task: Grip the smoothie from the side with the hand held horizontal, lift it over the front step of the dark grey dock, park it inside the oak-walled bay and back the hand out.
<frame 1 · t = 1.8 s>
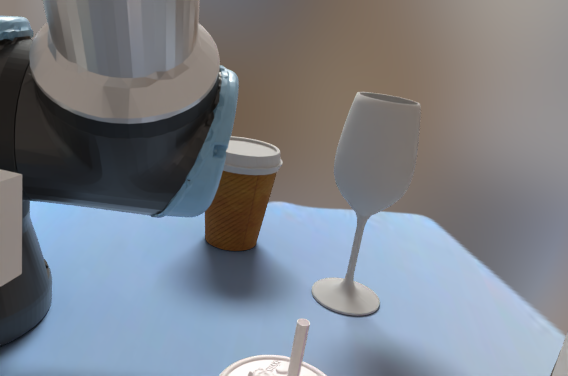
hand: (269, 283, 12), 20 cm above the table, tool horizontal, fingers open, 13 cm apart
wineglass: (344, 298, 54), on the table
disposable coffee cup: (230, 241, 63), on the table
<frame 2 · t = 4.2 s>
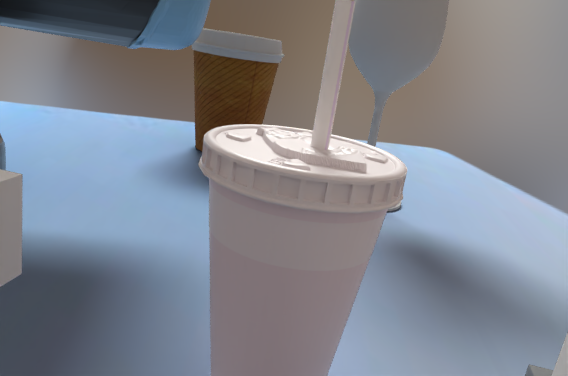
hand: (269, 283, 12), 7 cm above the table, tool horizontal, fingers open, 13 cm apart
wineglass: (359, 199, 46), on the table
disposable coffee cup: (224, 152, 55), on the table
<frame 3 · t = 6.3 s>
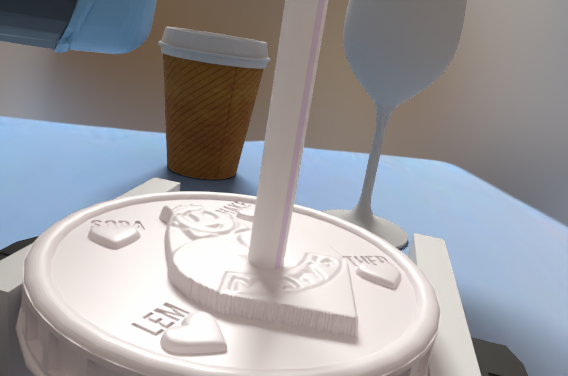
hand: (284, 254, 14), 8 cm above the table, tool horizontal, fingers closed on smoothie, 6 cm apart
wineglass: (358, 232, 38), on the table
disposable coffee cup: (201, 171, 47), on the table
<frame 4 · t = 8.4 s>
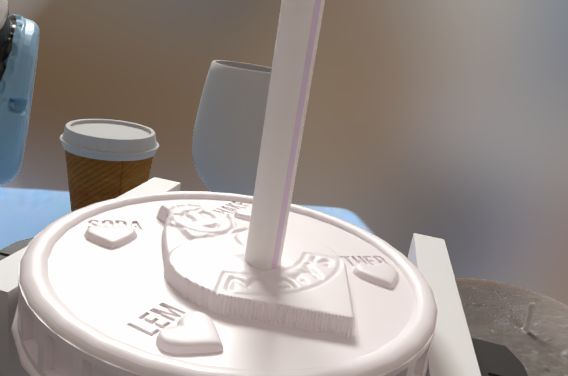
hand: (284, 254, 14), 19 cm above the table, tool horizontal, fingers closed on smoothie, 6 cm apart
wineglass: (218, 301, 47), on the table
disposable coffee cup: (105, 238, 55), on the table
when the fingers open (12 cm above the table, at t = 10.3 s): smoothie drops 1 cm, resting on dock.
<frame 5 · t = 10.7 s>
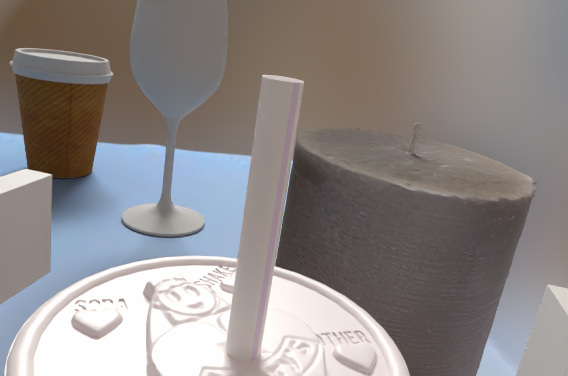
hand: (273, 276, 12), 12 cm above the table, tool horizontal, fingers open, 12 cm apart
wineglass: (163, 222, 46), on the table
disposable coffee cup: (60, 171, 55), on the table
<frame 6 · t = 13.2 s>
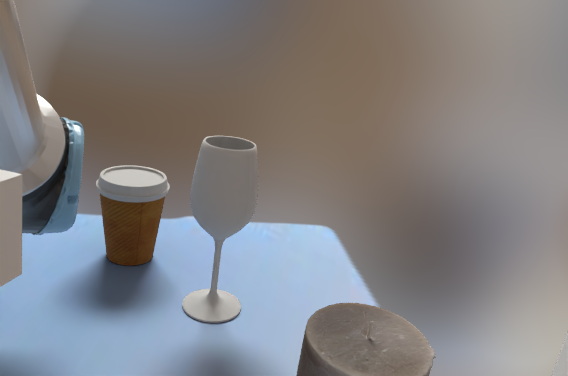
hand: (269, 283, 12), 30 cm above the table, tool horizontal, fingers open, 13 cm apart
wineglass: (211, 307, 63), on the table
disposable coffee cup: (129, 256, 73), on the table
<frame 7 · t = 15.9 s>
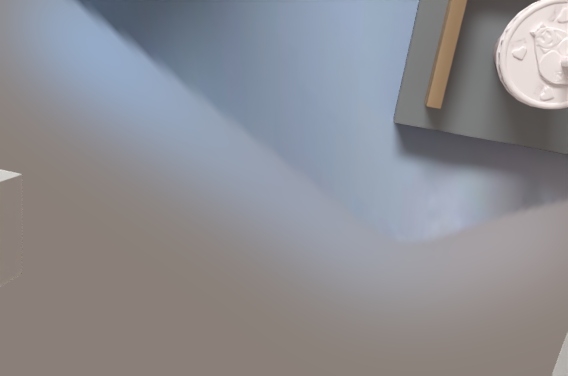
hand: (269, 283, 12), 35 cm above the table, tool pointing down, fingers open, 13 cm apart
smoothie: (518, 51, 38), point 3 cm above the table, touching dock
dock: (510, 56, 41), on the table
bay walls: (520, 50, 38), resting on dock
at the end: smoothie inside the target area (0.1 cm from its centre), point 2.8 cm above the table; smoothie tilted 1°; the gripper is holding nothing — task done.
